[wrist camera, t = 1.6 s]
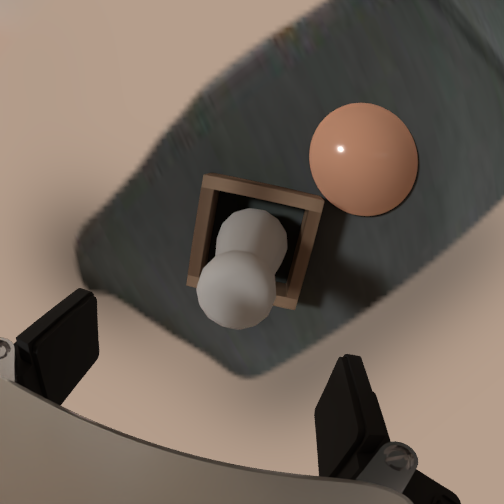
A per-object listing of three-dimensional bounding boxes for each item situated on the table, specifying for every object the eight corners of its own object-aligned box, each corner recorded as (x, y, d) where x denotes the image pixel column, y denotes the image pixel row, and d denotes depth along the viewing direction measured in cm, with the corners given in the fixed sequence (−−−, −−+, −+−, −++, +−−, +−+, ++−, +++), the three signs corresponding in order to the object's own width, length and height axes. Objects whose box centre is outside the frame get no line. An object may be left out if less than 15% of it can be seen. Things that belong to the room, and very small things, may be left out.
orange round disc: (425, 124, 24) (426, 123, 23) (400, 227, 27) (402, 227, 26) (321, 90, 24) (322, 89, 23) (297, 200, 27) (298, 200, 27)
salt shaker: (219, 206, 28) (170, 248, 15) (284, 201, 27) (286, 239, 15) (226, 268, 29) (189, 347, 17) (288, 264, 29) (292, 345, 16)
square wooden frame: (319, 196, 27) (324, 200, 24) (293, 295, 30) (294, 309, 27) (211, 172, 27) (203, 174, 24) (195, 273, 30) (186, 285, 27)
